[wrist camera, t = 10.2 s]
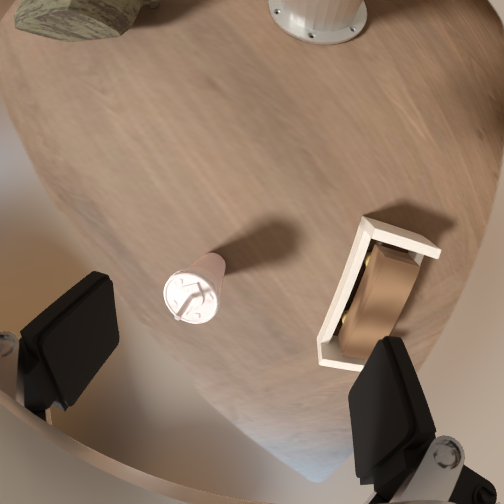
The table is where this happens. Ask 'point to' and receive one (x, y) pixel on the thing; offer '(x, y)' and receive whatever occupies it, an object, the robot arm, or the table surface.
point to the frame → (367, 229)
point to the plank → (377, 301)
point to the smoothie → (196, 289)
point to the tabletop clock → (78, 18)
